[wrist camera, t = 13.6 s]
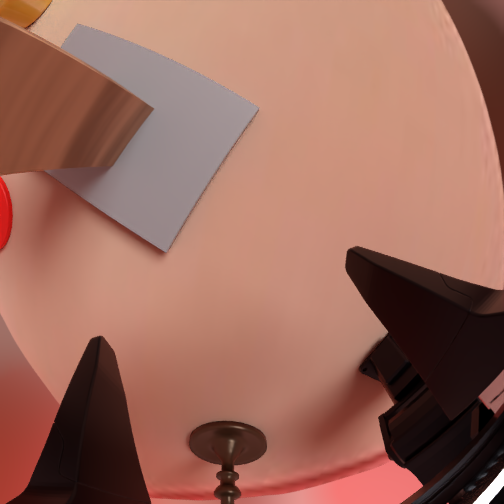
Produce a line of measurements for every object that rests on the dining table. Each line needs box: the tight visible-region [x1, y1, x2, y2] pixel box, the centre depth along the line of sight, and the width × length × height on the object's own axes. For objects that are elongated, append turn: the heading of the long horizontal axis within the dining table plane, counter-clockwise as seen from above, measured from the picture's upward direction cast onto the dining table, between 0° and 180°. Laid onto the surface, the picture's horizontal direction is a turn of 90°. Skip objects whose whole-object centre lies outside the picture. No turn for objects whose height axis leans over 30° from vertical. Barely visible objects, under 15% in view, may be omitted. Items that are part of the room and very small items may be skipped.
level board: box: [44, 24, 259, 252], centre depth 17 cm, size 18×12×1 cm, turn 56°
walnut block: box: [0, 17, 154, 175], centre depth 10 cm, size 5×5×15 cm
